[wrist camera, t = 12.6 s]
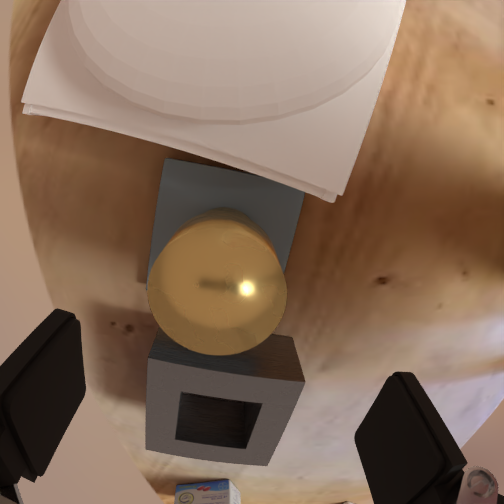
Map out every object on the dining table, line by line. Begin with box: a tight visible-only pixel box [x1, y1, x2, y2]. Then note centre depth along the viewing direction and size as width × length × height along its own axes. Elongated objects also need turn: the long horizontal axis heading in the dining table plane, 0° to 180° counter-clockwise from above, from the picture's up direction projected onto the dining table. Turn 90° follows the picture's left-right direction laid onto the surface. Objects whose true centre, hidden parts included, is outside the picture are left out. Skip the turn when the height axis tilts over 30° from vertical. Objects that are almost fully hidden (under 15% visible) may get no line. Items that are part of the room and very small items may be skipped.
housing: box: [146, 327, 305, 466], centre depth 25 cm, size 11×11×6 cm
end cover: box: [147, 207, 287, 355], centre depth 19 cm, size 6×6×9 cm
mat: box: [146, 158, 305, 290], centre depth 23 cm, size 10×10×1 cm
